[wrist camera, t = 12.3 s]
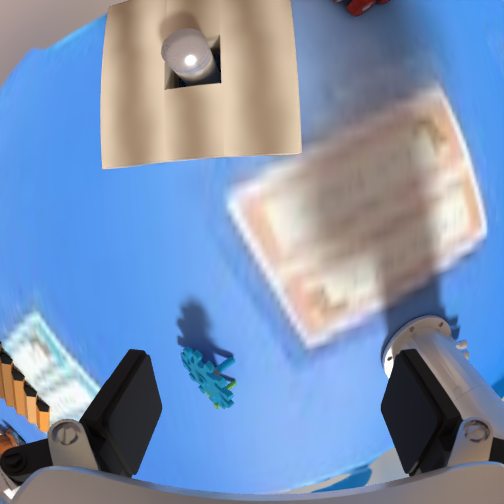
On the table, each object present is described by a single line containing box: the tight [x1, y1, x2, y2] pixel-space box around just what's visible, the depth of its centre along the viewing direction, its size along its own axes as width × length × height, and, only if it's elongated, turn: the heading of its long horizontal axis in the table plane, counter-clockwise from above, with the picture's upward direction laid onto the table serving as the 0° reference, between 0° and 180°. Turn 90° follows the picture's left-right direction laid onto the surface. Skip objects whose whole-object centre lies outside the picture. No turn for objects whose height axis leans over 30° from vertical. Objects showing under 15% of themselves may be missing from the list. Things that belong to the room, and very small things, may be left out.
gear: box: [181, 347, 236, 409], centre depth 38 cm, size 11×6×10 cm
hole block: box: [101, 0, 302, 169], centre depth 27 cm, size 20×20×6 cm
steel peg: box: [161, 28, 220, 87], centre depth 25 cm, size 4×4×10 cm
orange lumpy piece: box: [0, 428, 25, 458], centre depth 53 cm, size 25×13×17 cm
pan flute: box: [0, 342, 50, 432], centre depth 43 cm, size 25×3×25 cm
